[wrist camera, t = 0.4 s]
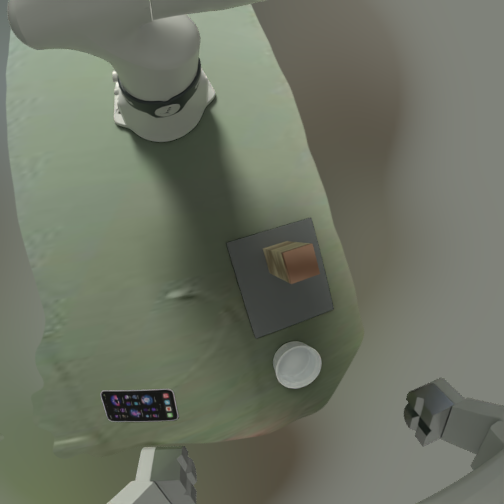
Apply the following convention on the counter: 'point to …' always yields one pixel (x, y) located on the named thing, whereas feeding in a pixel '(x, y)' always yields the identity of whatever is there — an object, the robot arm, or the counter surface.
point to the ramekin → (296, 364)
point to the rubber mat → (278, 280)
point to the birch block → (292, 261)
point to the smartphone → (140, 405)
